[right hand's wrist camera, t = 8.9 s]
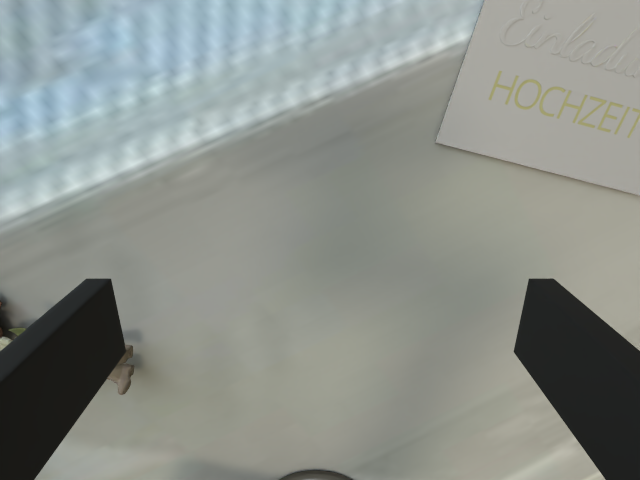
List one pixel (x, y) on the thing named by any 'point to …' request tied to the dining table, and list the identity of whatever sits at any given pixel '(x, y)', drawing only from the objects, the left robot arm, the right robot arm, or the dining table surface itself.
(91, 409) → the dining table surface
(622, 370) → the right robot arm
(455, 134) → the invitation card
